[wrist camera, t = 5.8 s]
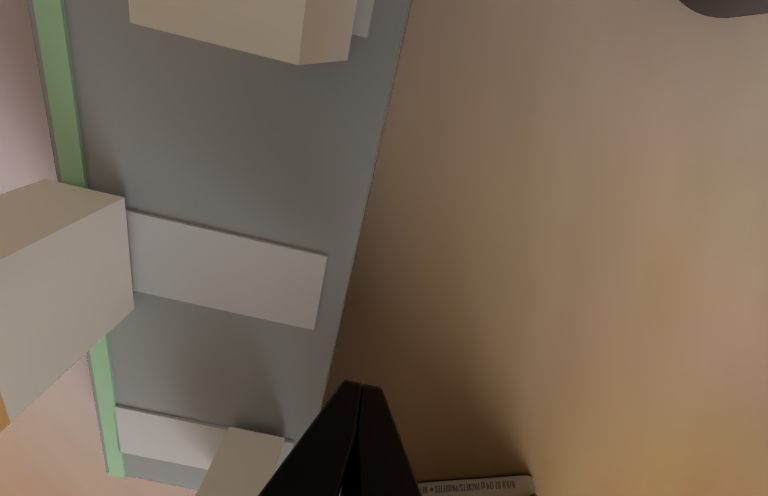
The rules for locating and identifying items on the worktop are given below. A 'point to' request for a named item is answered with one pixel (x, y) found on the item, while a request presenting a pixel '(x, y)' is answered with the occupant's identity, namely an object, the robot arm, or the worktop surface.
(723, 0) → the dark grey tall block
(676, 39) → the worktop surface
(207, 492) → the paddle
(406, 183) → the worktop surface
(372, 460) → the robot arm
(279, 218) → the breaker panel
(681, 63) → the worktop surface
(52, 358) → the block
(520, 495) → the coffee box
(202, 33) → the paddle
